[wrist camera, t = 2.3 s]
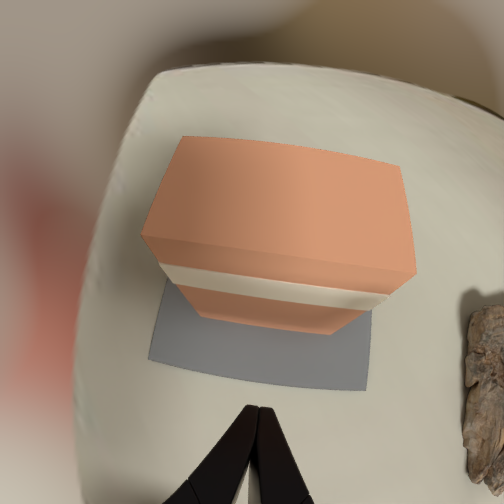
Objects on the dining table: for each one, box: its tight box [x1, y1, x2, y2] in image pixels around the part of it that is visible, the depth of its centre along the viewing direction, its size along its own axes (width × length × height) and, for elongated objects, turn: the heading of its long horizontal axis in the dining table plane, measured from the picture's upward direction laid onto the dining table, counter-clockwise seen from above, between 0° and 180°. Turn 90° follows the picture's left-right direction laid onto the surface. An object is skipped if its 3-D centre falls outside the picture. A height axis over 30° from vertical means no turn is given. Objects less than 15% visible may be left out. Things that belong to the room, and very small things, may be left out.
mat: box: [148, 277, 372, 391], centre depth 23 cm, size 22×16×1 cm
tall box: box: [140, 136, 417, 335], centre depth 15 cm, size 5×10×12 cm, turn 81°
